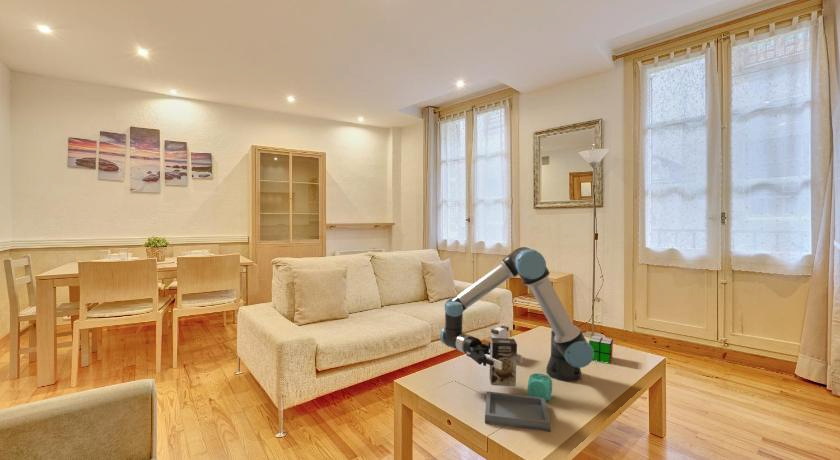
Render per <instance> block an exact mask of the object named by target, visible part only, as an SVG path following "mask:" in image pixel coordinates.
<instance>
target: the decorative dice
mask: <svg viewBox="0 0 840 460" xmlns="http://www.w3.org/2000/svg"><path fill="white" fill-rule="evenodd" d="M551 378H552V377H551V376H548V374H547V375H546V374H543V373H535V372H534V373H533V374H531V375H529V378H528V383H527V394H528V396H533V397H542V398H545V402H547V401H549V400H551V397H552V391H553V380H552V379H551Z"/></svg>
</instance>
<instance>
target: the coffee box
mask: <svg viewBox="0 0 840 460" xmlns="http://www.w3.org/2000/svg"><path fill="white" fill-rule="evenodd" d="M490 343H491V348H490V350H489V352H490V357H491V358H494V359H496V360H499V361H501V362H502V370H500V369H497V368H495V367H493V366H491V365H489V382H490V385H491V386H498V387H499V386H501V387H516V386H517V361H516V360H517V354H518V344H517V342H516V340H515V338H491V337H490Z"/></svg>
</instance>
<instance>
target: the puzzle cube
mask: <svg viewBox="0 0 840 460" xmlns="http://www.w3.org/2000/svg"><path fill="white" fill-rule="evenodd" d="M613 340H614V339H613V338H609V337H604V336H603V337H602V336H597V335H592V336H591V337H590V338H589V341H588V343H589V344H590V345H591V346H592V348H593V351H594V357H593V359H592V361H594V360H597V361H596V362H600V361H603V362H602V363H604V362H608V363H607V364H609V363H610V362H611V363H612V360H611V359H613V349H614V348H613V347H614V346H613V345H614V341H613ZM611 363H610V364H611Z"/></svg>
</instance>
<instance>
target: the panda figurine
mask: <svg viewBox="0 0 840 460" xmlns="http://www.w3.org/2000/svg"><path fill="white" fill-rule="evenodd" d="M509 330H510V329H509V326H506V325H501V326H500V327H499V326H498V327H495V328H491V330H490V333H491V336H490V339H491V338H509V337H510V336H509ZM509 339H510V338H509ZM488 356H489V357H490V355H488V354H487V357H488Z"/></svg>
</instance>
